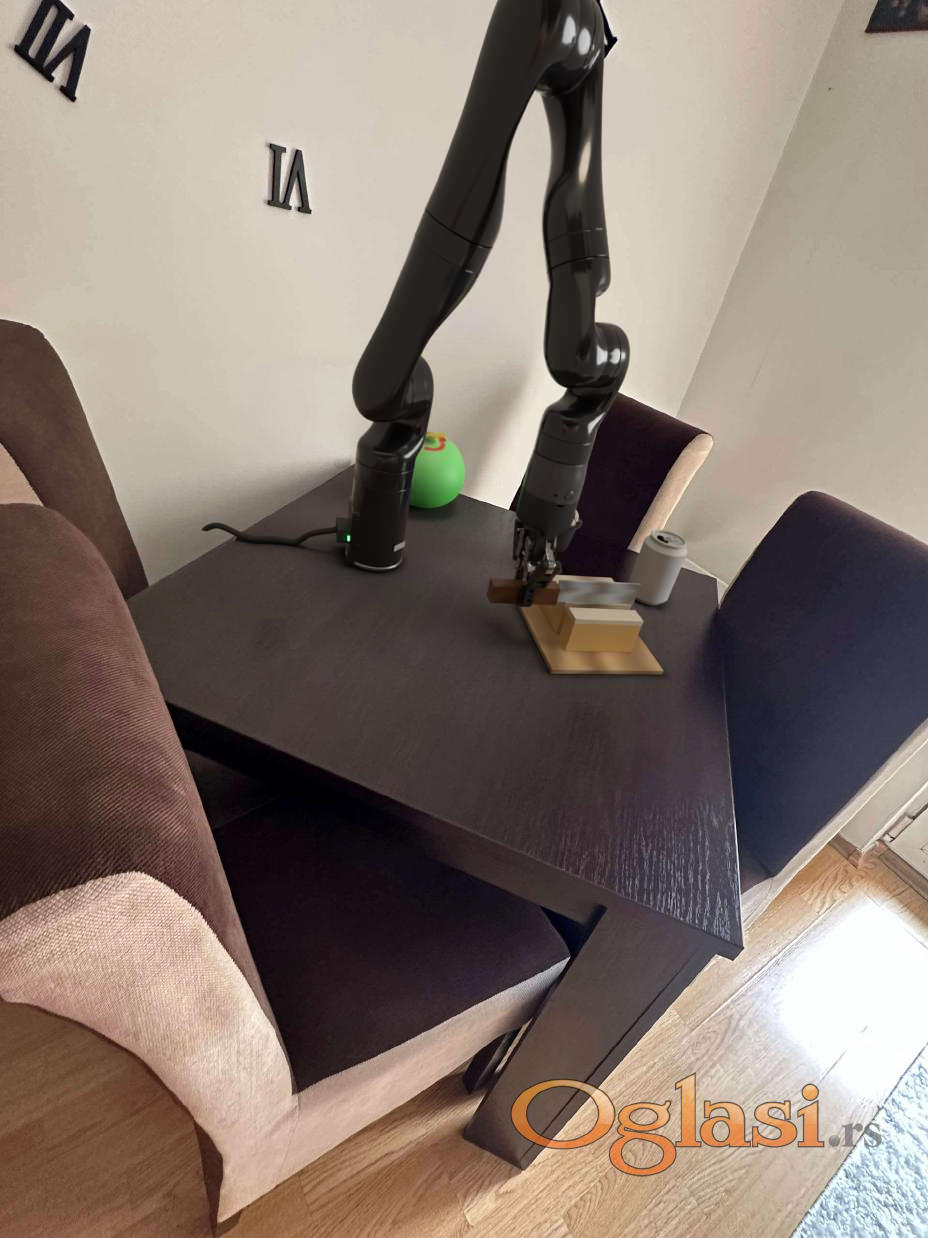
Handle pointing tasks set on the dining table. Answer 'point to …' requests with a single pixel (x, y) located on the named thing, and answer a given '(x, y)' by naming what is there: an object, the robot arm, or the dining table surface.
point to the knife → (565, 592)
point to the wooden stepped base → (546, 632)
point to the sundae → (567, 537)
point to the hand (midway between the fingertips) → (521, 599)
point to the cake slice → (600, 630)
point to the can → (658, 566)
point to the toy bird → (437, 472)
